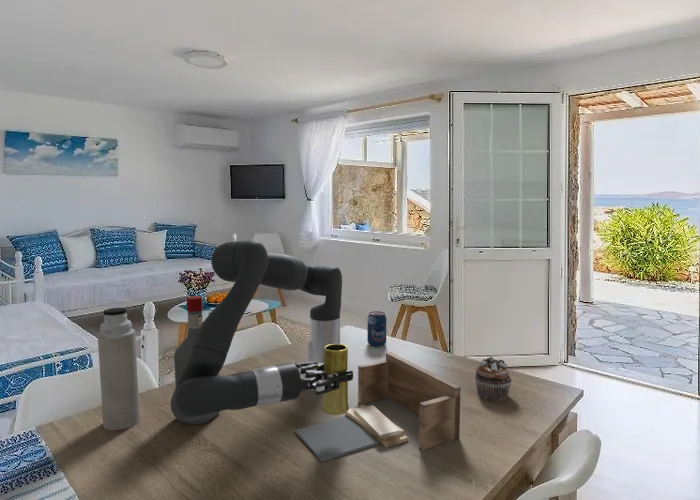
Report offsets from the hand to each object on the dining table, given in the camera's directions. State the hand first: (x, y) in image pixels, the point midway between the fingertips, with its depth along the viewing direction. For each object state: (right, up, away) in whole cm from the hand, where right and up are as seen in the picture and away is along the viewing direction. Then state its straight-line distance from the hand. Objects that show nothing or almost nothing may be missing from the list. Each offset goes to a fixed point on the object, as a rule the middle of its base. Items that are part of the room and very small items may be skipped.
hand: (345, 370), depth 106 cm
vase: (-2, -9, 0) cm, 9 cm away
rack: (+11, -15, +8) cm, 20 cm away
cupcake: (+40, -13, +24) cm, 49 cm away
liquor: (-37, -15, +12) cm, 41 cm away
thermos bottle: (-54, -15, +8) cm, 57 cm away
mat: (-2, -15, +1) cm, 16 cm away
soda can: (+11, -8, +68) cm, 69 cm away
